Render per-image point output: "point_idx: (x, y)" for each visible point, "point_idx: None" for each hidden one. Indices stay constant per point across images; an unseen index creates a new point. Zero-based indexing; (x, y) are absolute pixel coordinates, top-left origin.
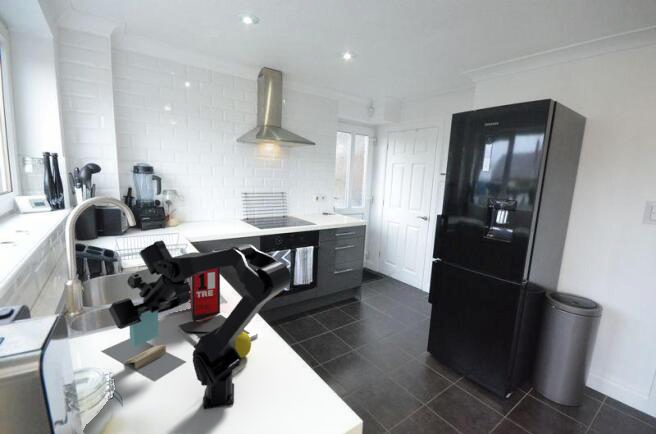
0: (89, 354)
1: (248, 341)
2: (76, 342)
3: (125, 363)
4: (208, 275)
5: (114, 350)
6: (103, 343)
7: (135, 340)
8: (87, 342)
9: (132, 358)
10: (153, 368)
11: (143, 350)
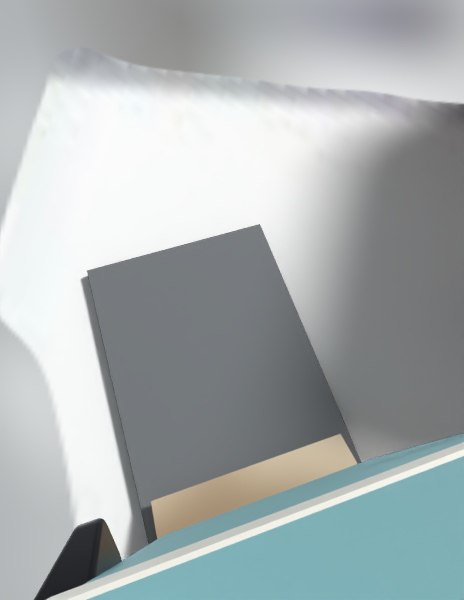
0: (42, 258)
1: None
2: (35, 119)
3: (149, 508)
4: None
5: (141, 307)
6: (123, 195)
7: None
8: (70, 145)
9: (185, 526)
10: None
11: (272, 418)
